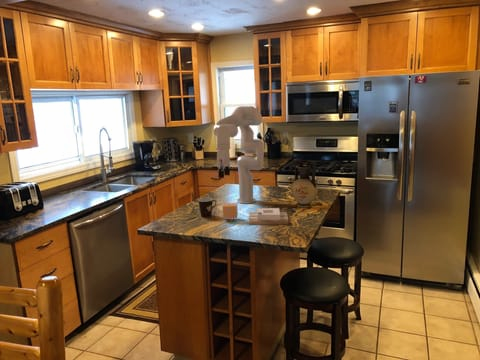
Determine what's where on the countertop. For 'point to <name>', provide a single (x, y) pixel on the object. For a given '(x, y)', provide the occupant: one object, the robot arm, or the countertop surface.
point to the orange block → (230, 210)
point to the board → (254, 220)
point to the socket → (268, 214)
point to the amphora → (304, 183)
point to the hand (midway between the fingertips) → (224, 176)
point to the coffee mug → (206, 206)
